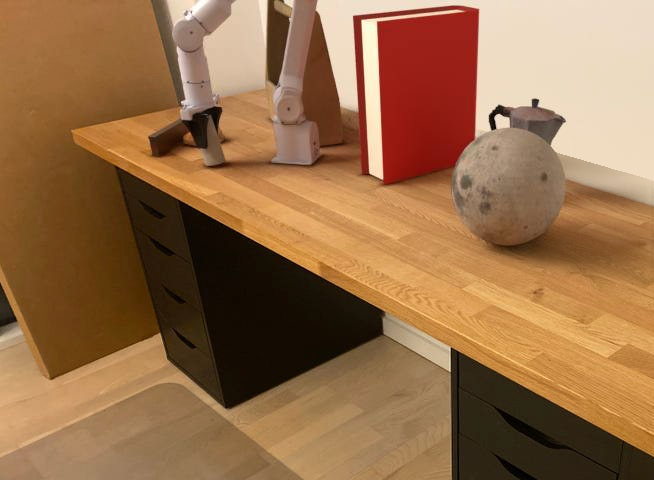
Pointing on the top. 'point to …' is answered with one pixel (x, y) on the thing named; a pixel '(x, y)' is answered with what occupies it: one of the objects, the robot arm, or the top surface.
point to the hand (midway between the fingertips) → (207, 144)
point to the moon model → (508, 186)
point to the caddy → (317, 77)
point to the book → (415, 89)
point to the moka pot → (530, 119)
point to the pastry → (190, 141)
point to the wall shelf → (167, 137)
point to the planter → (212, 145)
